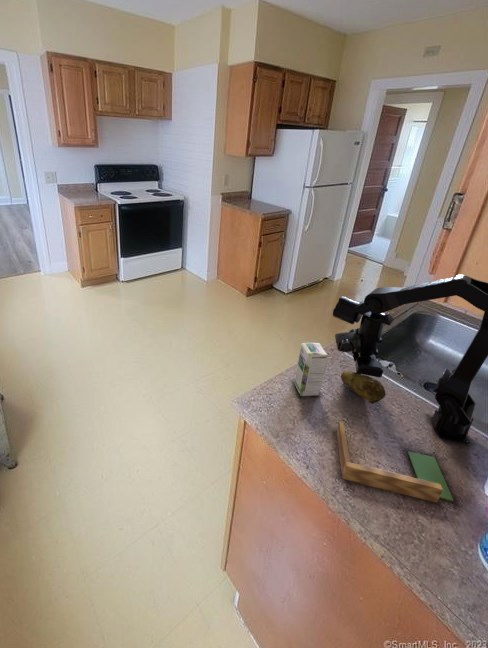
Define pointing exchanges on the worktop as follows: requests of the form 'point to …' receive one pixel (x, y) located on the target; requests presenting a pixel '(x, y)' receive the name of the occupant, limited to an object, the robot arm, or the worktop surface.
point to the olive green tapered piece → (364, 386)
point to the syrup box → (310, 369)
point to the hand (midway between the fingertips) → (358, 373)
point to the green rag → (429, 472)
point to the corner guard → (384, 475)
